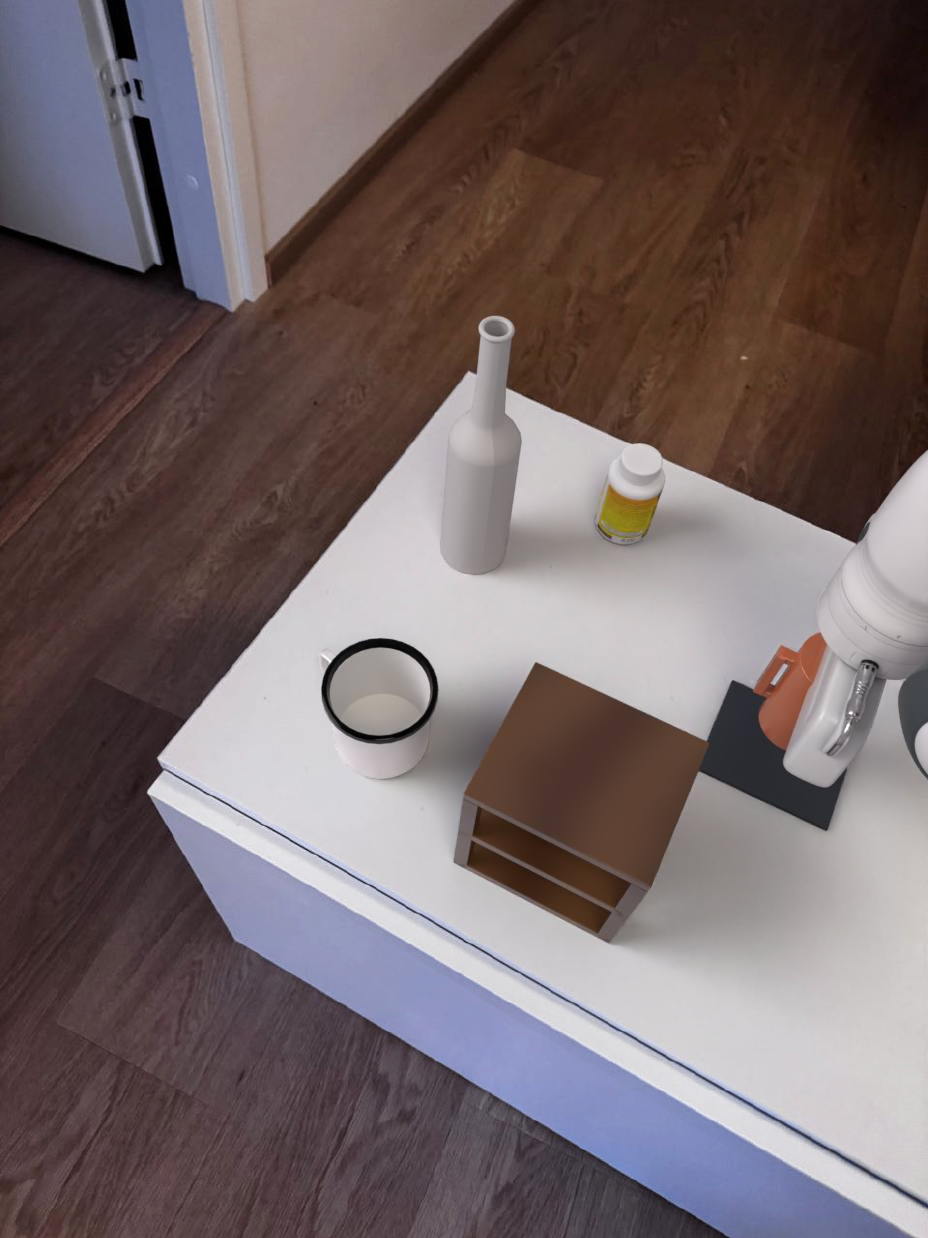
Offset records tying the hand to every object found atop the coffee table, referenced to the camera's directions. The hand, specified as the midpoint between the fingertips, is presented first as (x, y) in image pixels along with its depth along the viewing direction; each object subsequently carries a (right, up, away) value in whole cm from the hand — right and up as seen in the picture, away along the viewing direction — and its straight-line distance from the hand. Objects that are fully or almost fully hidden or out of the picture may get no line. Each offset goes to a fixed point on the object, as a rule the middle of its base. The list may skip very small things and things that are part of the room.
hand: (814, 704), depth 79 cm
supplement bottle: (-12, +16, +21) cm, 29 cm away
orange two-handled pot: (-1, -2, +3) cm, 4 cm away
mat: (-1, -5, +8) cm, 10 cm away
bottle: (-28, +14, +18) cm, 36 cm away
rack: (-20, -12, +3) cm, 24 cm away
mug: (-37, -3, +7) cm, 37 cm away
